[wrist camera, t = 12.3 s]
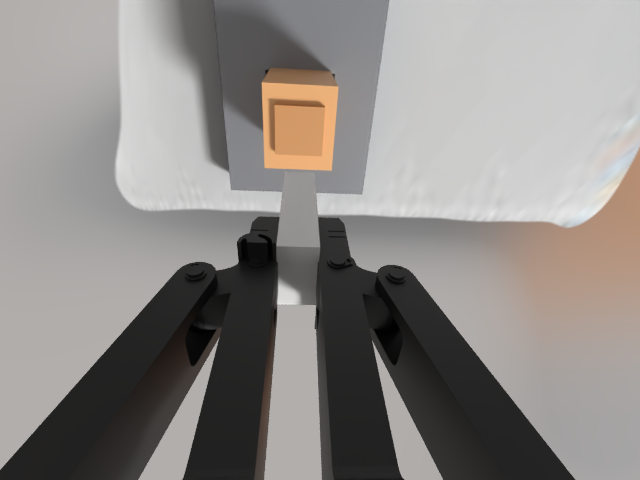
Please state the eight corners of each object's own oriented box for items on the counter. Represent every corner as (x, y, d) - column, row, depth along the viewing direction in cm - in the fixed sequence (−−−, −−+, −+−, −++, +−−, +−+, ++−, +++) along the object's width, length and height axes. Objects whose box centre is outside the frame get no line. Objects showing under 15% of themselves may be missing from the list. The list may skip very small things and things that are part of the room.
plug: (272, 64, 36) (261, 83, 26) (328, 68, 36) (339, 87, 26) (273, 131, 40) (263, 170, 30) (324, 133, 40) (332, 173, 30)
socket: (220, -15, 33) (211, -18, 30) (381, -3, 34) (389, -5, 31) (236, 176, 44) (231, 189, 41) (357, 181, 45) (362, 194, 42)
